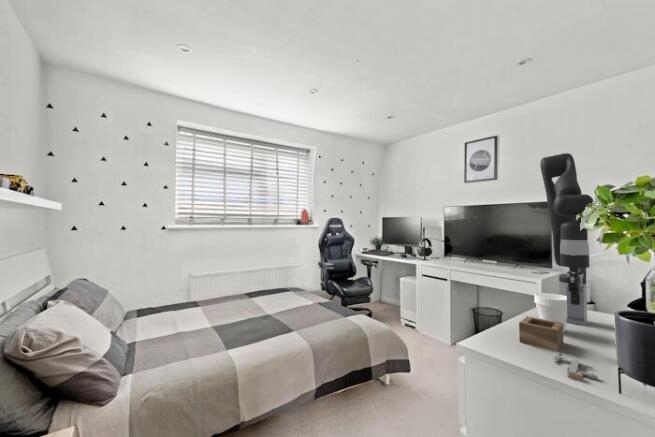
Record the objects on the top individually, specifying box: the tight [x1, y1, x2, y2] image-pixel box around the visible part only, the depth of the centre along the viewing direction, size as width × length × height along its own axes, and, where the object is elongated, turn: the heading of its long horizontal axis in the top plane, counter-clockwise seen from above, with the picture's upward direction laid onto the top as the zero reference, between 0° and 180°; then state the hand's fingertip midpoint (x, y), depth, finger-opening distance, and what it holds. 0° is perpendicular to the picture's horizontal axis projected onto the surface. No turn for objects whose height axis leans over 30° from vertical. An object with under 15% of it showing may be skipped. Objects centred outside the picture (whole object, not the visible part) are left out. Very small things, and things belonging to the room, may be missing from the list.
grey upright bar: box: [566, 285, 586, 326], centre depth 97 cm, size 4×4×12 cm
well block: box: [518, 315, 564, 353], centre depth 104 cm, size 11×11×7 cm
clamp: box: [554, 352, 599, 382], centre depth 84 cm, size 15×2×10 cm
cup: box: [533, 292, 568, 334], centre depth 117 cm, size 12×12×14 cm
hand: (575, 303), depth 98 cm, fingers closed on grey upright bar, 2 cm apart
